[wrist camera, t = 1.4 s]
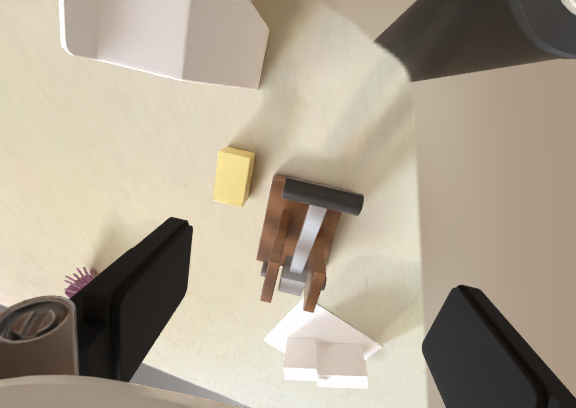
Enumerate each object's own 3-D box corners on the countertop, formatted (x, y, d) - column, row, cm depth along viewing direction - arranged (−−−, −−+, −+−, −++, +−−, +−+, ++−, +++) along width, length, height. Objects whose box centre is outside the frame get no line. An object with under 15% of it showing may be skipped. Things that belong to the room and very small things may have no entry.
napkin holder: (383, 345, 42) (393, 381, 37) (337, 384, 46) (340, 422, 41) (303, 295, 40) (302, 326, 35) (262, 340, 44) (255, 374, 39)
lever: (288, 166, 18) (282, 192, 16) (363, 184, 18) (364, 211, 16) (268, 265, 28) (263, 287, 26) (317, 277, 28) (314, 299, 26)
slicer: (274, 173, 34) (253, 215, 22) (346, 190, 34) (363, 241, 22) (257, 255, 38) (232, 326, 26) (321, 270, 38) (324, 348, 26)
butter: (226, 146, 33) (218, 150, 30) (255, 152, 33) (250, 158, 30) (220, 192, 35) (212, 200, 32) (248, 198, 35) (242, 207, 32)
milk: (270, 29, 28) (162, -150, 8) (257, 91, 31) (148, 77, 10) (213, 13, 28) (-50, -213, 8) (204, 76, 30) (-16, 32, 10)
